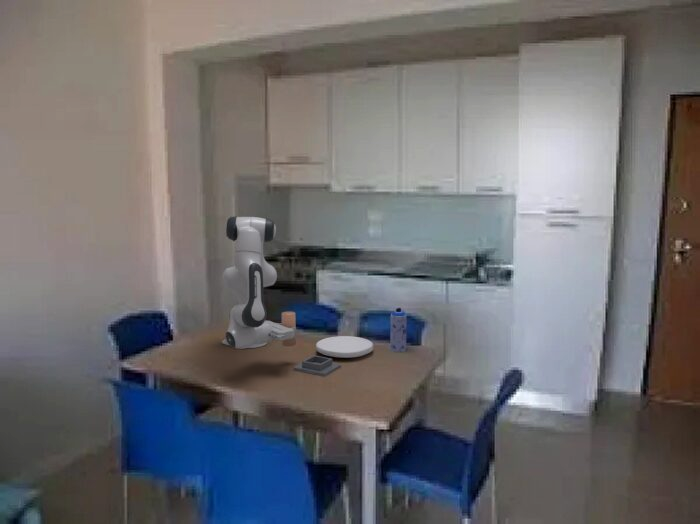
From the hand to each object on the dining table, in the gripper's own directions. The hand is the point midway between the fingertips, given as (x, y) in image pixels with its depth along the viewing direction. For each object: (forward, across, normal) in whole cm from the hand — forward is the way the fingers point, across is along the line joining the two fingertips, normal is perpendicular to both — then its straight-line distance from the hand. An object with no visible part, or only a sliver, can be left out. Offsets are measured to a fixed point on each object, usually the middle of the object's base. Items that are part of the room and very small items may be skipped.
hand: (290, 326), depth 259 cm
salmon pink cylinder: (-1, 0, +8) cm, 8 cm away
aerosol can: (+50, -17, +17) cm, 55 cm away
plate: (+28, -3, +17) cm, 33 cm away
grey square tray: (+5, -13, +17) cm, 22 cm away
